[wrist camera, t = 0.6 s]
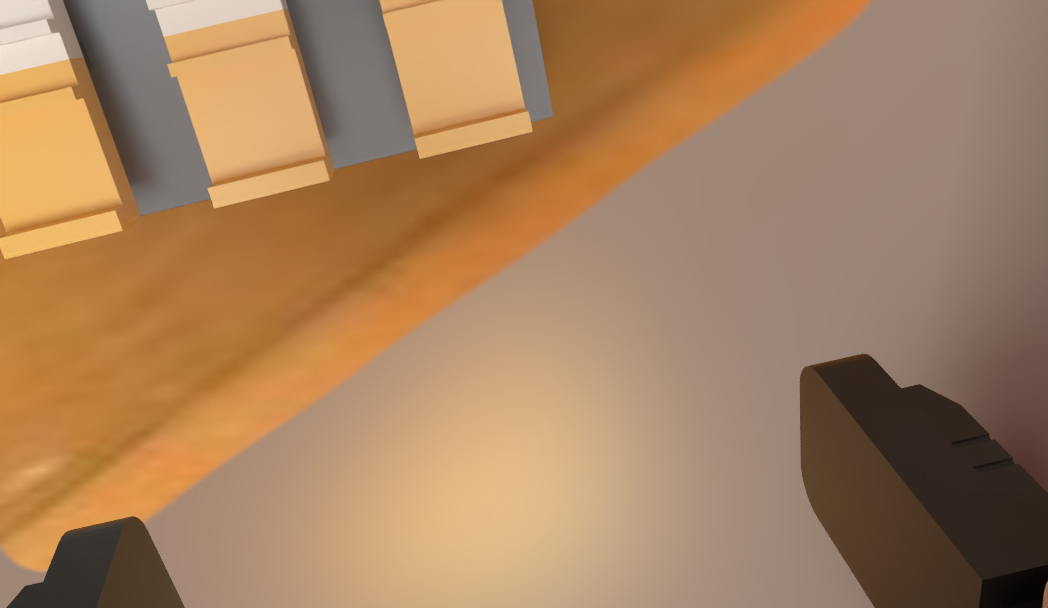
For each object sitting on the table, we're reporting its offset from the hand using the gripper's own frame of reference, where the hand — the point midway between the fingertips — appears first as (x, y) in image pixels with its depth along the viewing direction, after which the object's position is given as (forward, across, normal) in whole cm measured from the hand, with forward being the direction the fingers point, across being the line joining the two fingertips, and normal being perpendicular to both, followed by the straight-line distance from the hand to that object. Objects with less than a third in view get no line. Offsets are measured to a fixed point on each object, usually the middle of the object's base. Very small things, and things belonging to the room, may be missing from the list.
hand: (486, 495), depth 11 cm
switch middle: (+15, +4, -3) cm, 16 cm away
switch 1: (+15, +9, -3) cm, 18 cm away
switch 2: (+15, -1, -3) cm, 16 cm away
